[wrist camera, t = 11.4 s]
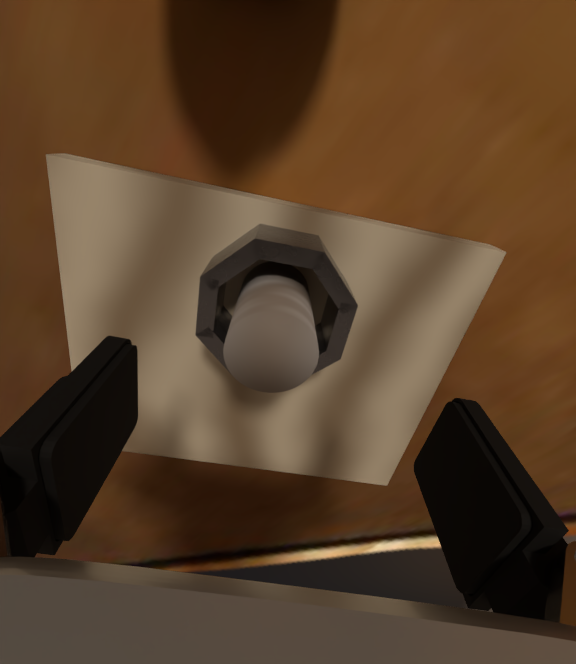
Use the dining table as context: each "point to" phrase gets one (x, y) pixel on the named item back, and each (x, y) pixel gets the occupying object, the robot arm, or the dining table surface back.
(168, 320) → the board
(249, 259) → the ring
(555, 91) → the dining table surface
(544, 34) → the dining table surface
